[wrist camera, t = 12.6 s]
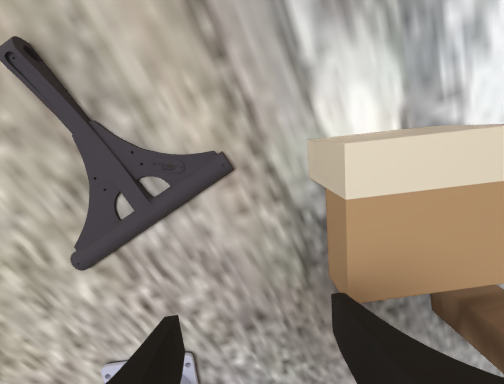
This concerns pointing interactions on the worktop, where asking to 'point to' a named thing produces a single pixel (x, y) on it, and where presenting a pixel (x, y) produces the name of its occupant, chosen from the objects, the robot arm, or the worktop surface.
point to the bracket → (113, 164)
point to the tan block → (413, 209)
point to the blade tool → (475, 318)
